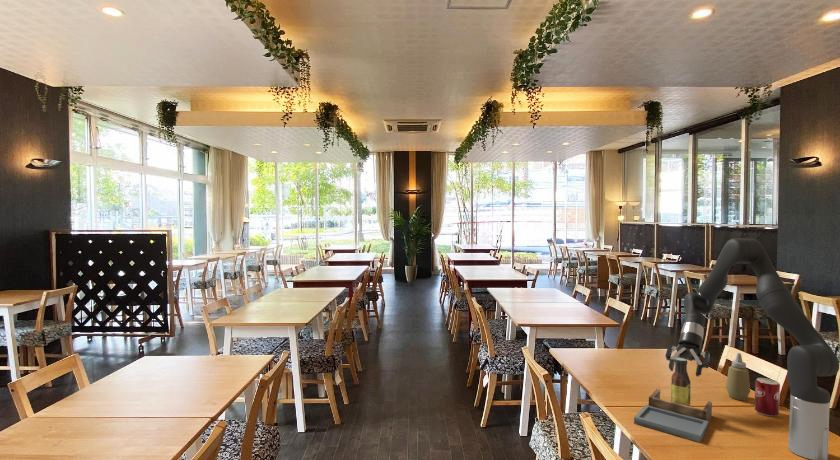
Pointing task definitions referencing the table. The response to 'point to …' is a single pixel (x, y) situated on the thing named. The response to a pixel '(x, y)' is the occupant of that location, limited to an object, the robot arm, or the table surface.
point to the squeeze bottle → (738, 379)
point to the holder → (680, 407)
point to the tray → (672, 423)
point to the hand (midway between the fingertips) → (684, 372)
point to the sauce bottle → (680, 383)
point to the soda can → (767, 397)
